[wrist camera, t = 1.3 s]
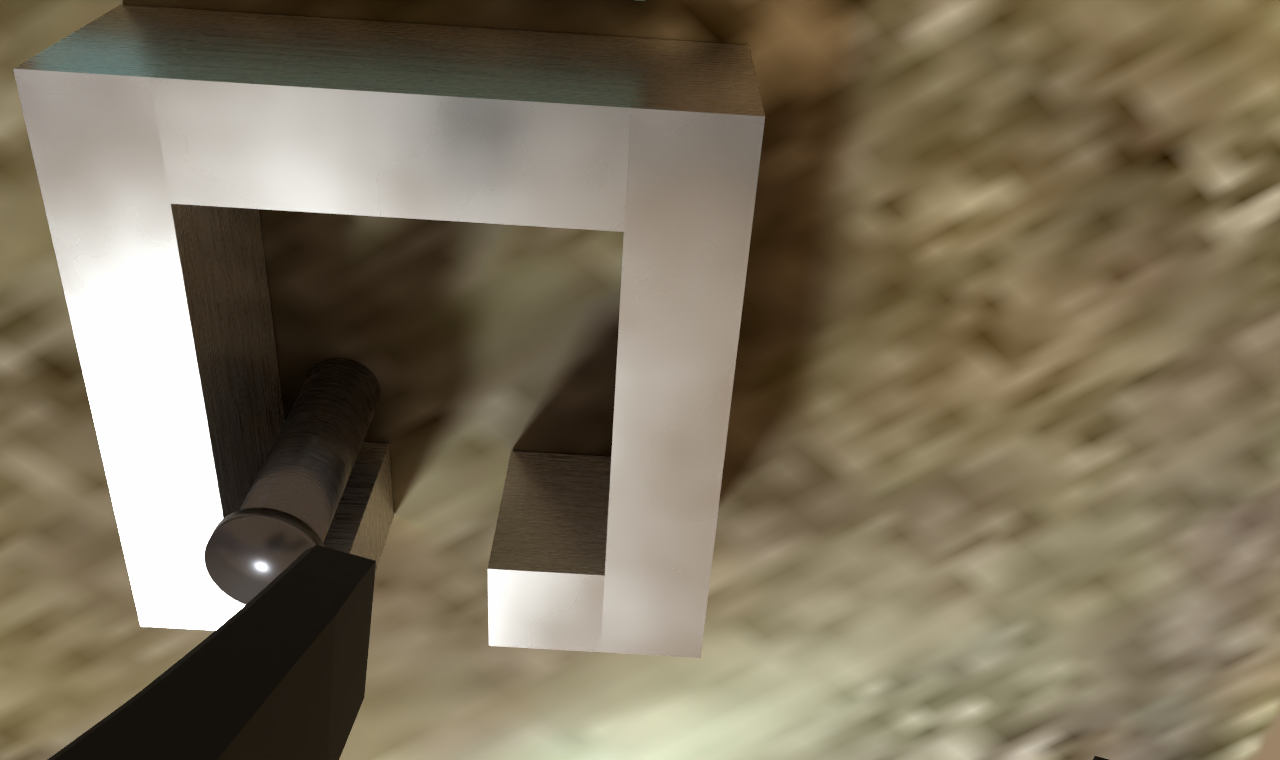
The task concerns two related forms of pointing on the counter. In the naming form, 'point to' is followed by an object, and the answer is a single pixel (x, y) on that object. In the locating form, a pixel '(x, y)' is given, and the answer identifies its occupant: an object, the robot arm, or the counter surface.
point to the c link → (401, 188)
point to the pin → (296, 481)
